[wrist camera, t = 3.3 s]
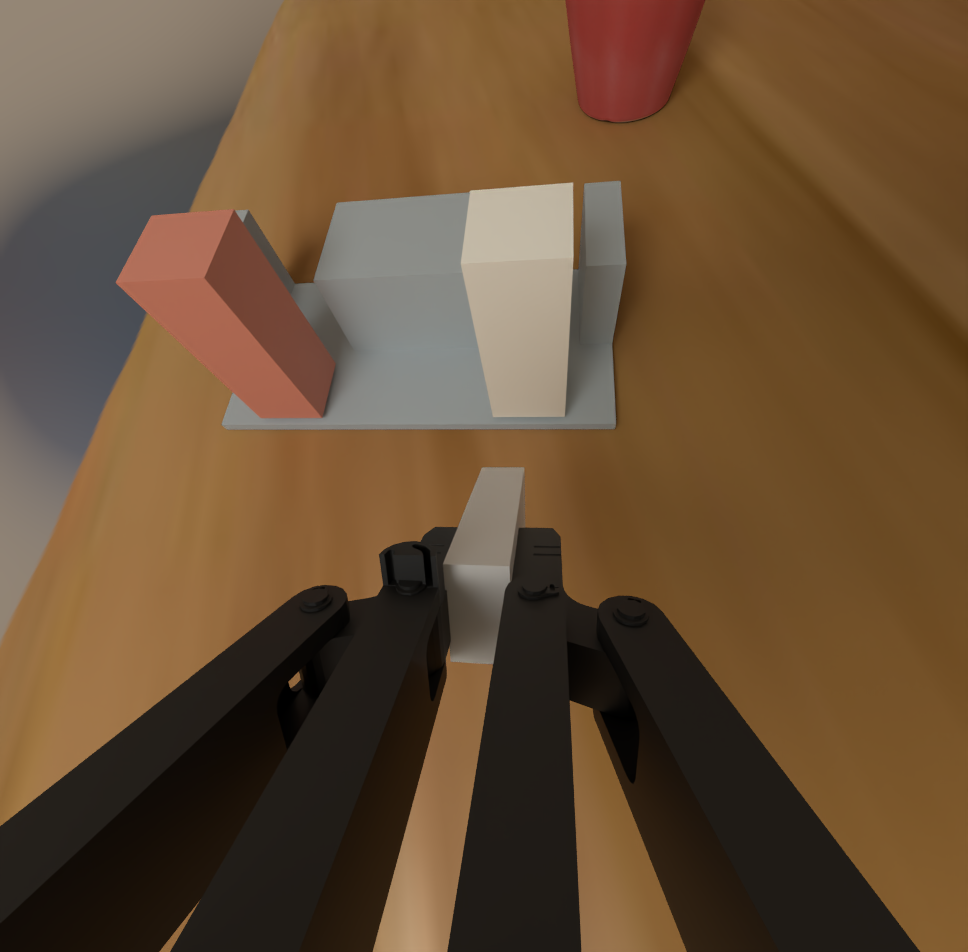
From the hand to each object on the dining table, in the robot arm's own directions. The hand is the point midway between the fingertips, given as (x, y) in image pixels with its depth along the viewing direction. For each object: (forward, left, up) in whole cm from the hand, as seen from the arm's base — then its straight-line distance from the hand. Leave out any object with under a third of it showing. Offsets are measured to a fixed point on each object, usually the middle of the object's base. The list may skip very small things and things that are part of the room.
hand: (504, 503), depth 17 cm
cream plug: (0, -11, -9) cm, 14 cm away
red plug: (+15, -11, -9) cm, 20 cm away
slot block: (+7, -14, -9) cm, 18 cm away
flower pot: (-7, -41, -9) cm, 43 cm away
